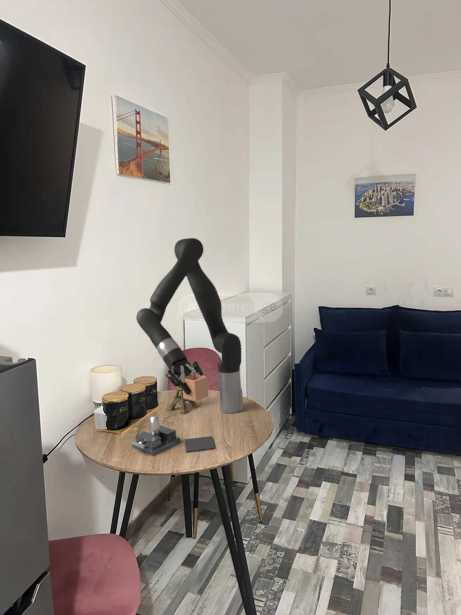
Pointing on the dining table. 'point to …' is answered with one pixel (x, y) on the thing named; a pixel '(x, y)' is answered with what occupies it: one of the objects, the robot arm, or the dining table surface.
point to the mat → (199, 444)
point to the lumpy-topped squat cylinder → (100, 418)
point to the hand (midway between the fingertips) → (196, 390)
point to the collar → (196, 387)
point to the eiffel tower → (181, 402)
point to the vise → (155, 438)
